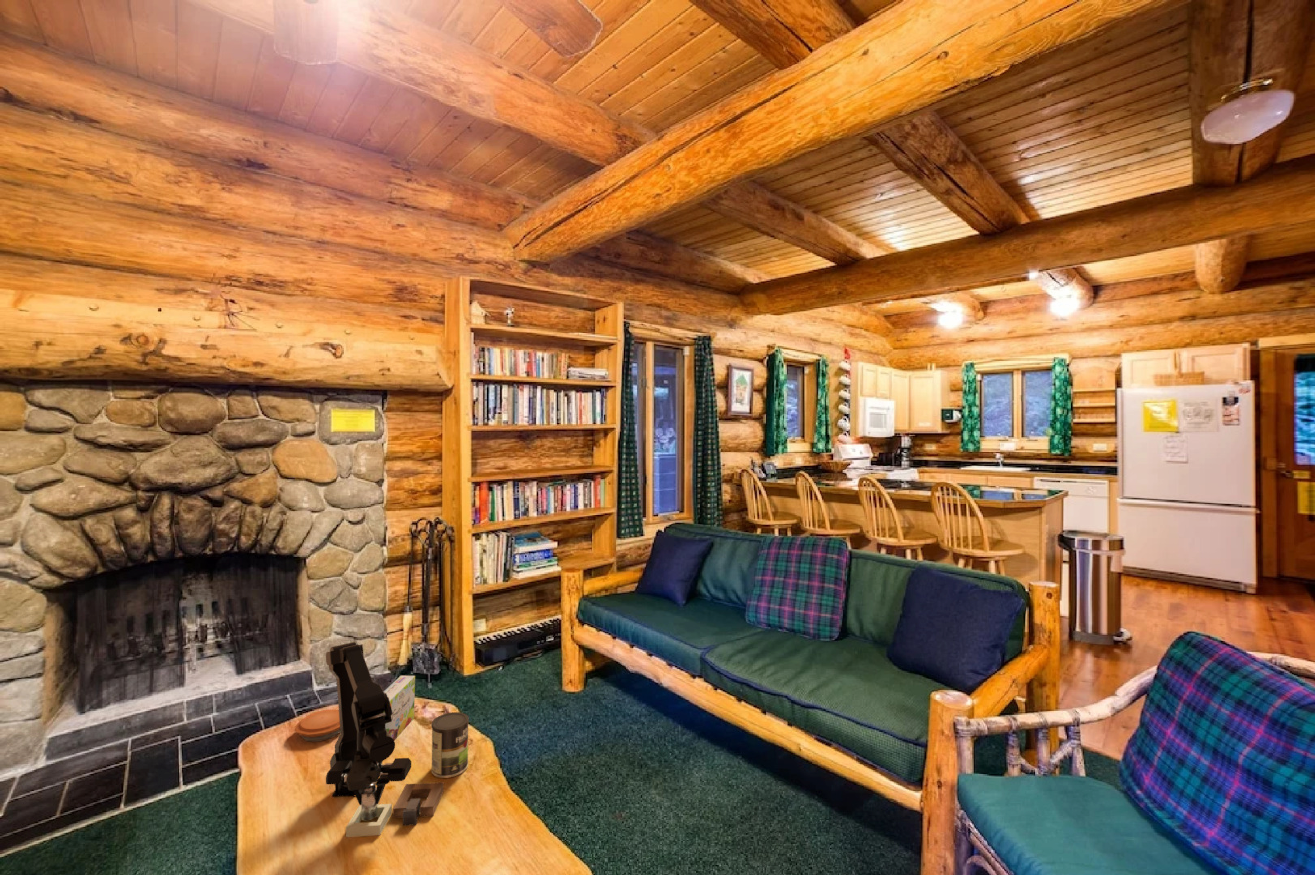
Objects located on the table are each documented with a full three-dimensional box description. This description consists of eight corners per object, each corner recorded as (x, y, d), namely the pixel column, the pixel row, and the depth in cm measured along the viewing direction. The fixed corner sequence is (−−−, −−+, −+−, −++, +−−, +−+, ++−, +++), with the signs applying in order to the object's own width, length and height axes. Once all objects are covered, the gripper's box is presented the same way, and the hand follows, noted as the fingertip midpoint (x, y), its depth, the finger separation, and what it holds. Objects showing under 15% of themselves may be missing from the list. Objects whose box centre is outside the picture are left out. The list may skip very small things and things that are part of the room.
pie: (354, 718, 196) (354, 703, 196) (342, 742, 181) (342, 726, 181) (304, 723, 192) (304, 708, 192) (287, 749, 177) (287, 733, 177)
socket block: (392, 818, 147) (393, 808, 147) (405, 793, 157) (405, 784, 157) (433, 816, 148) (433, 806, 148) (443, 791, 158) (443, 782, 158)
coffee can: (474, 760, 173) (475, 714, 172) (456, 780, 162) (456, 732, 162) (444, 755, 175) (444, 710, 174) (423, 775, 165) (424, 727, 164)
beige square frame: (345, 837, 140) (346, 827, 140) (359, 815, 148) (359, 805, 148) (380, 835, 141) (380, 825, 141) (391, 813, 149) (391, 803, 149)
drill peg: (358, 821, 142) (359, 789, 142) (364, 811, 146) (364, 780, 146) (374, 820, 143) (374, 788, 142) (379, 810, 146) (379, 779, 146)
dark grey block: (402, 825, 144) (402, 812, 144) (409, 812, 149) (409, 799, 149) (415, 825, 144) (416, 811, 144) (421, 811, 149) (422, 798, 149)
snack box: (385, 753, 175) (385, 705, 175) (367, 753, 175) (367, 704, 175) (415, 718, 197) (415, 674, 196) (399, 717, 197) (399, 674, 196)
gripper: (314, 763, 135) (314, 828, 135) (397, 760, 137) (396, 824, 137) (336, 737, 146) (336, 797, 146) (412, 734, 148) (411, 794, 148)
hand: (369, 803), depth 144 cm, fingers closed on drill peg, 4 cm apart
